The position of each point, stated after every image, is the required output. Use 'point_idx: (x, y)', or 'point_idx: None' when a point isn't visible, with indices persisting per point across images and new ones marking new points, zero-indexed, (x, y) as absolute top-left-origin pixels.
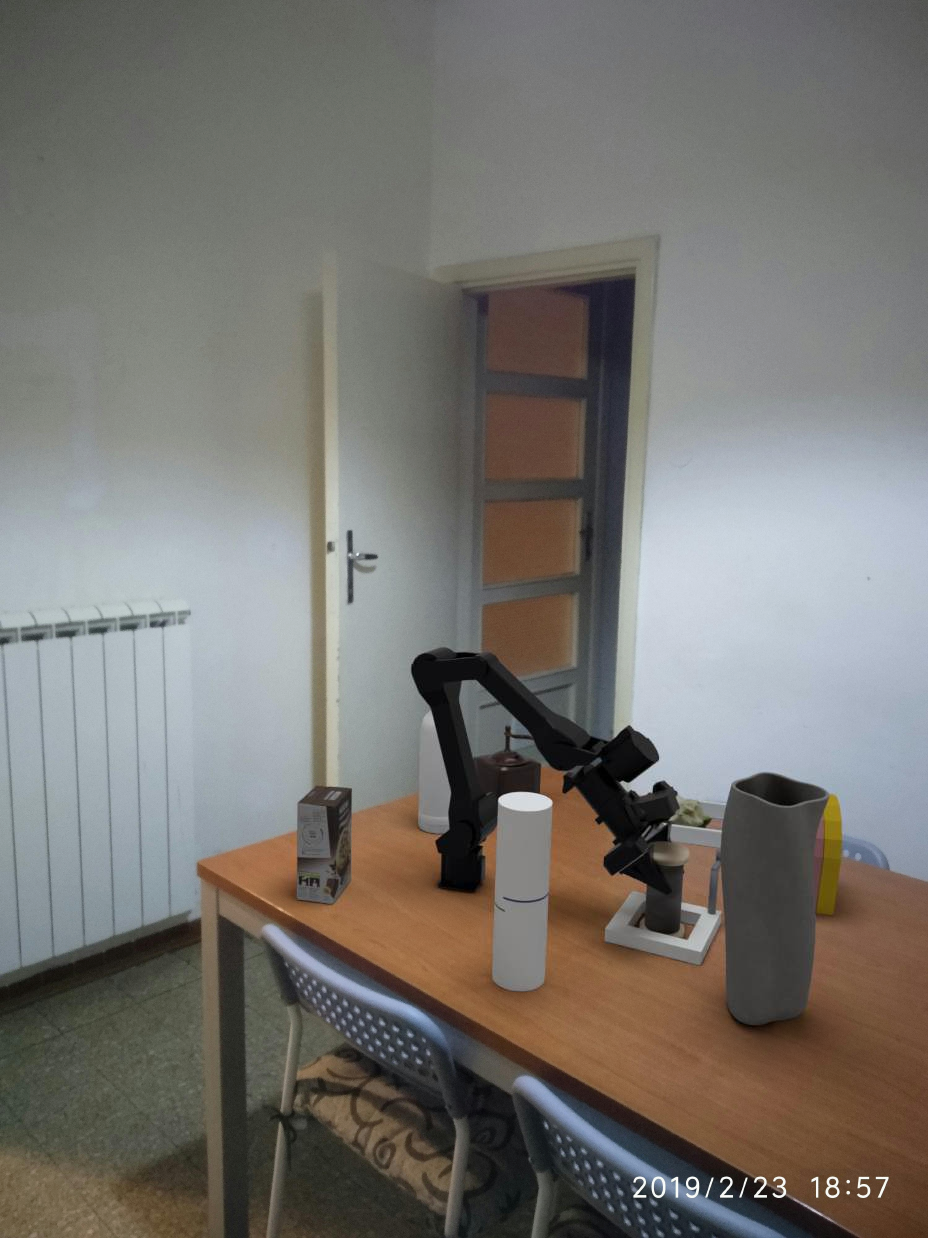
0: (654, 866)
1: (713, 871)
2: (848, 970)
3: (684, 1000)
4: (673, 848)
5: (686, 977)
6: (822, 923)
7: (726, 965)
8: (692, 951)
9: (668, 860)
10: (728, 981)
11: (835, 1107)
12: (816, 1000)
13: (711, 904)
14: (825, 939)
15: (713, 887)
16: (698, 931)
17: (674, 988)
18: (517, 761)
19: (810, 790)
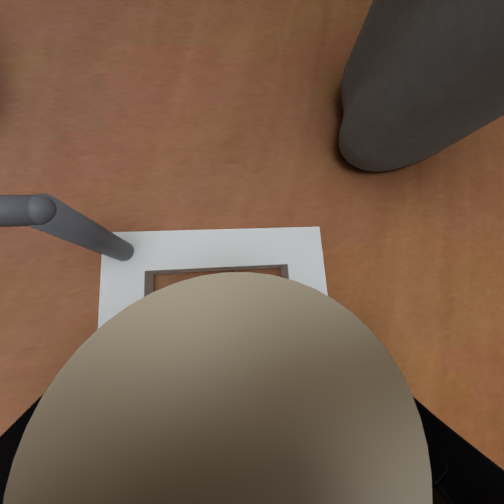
0: (463, 445)
1: (60, 213)
2: (186, 29)
3: (421, 229)
4: (164, 441)
5: (358, 245)
6: (12, 66)
7: (474, 127)
8: (319, 244)
9: (404, 382)
10: (468, 134)
11: None
12: (303, 67)
13: (123, 245)
14: (85, 60)
15: (99, 229)
16: (236, 254)
17: (401, 252)
18: None
19: None
